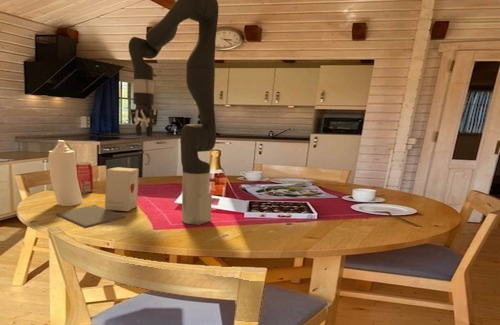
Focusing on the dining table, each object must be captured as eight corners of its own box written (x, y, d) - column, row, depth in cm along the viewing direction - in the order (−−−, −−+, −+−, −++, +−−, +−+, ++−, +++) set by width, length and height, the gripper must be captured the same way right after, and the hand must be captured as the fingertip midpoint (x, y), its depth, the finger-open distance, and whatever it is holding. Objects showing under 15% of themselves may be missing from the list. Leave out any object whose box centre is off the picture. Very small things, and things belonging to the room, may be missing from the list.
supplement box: (128, 211, 116) (130, 171, 115) (104, 210, 116) (105, 169, 115) (137, 206, 125) (139, 168, 124) (115, 204, 125) (116, 166, 124)
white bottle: (81, 207, 121) (79, 141, 118) (48, 209, 117) (45, 141, 114) (84, 199, 132) (82, 139, 128) (54, 201, 128) (51, 138, 124)
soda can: (96, 191, 146) (95, 163, 144) (81, 194, 140) (80, 165, 138) (87, 189, 150) (86, 161, 148) (72, 191, 144) (71, 163, 142)
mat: (125, 217, 111) (125, 215, 111) (85, 227, 100) (85, 225, 100) (94, 206, 123) (94, 204, 123) (55, 214, 111) (55, 212, 111)
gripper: (163, 92, 122) (163, 136, 124) (140, 93, 130) (140, 134, 132) (147, 91, 116) (147, 137, 118) (123, 91, 124) (124, 135, 126)
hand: (143, 135), depth 125 cm, fingers open, 6 cm apart
